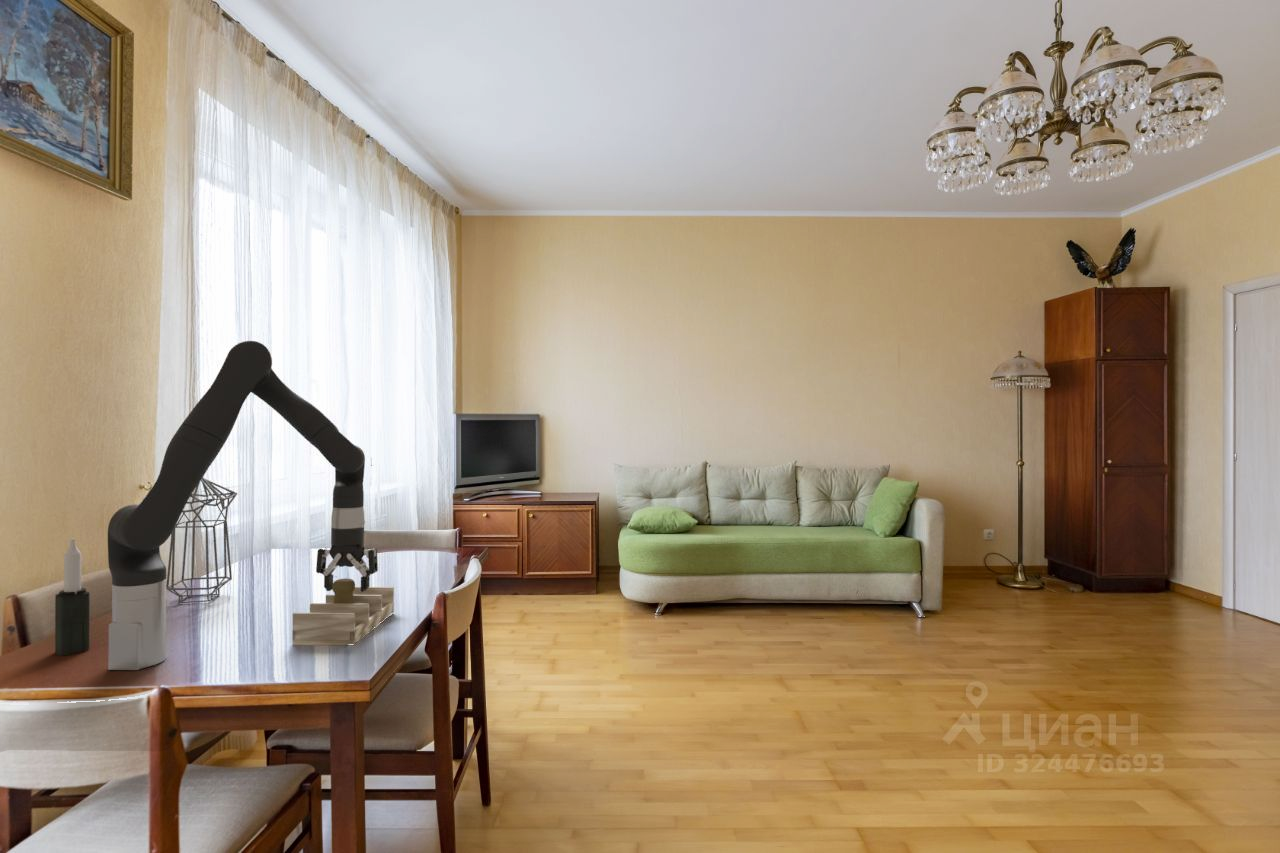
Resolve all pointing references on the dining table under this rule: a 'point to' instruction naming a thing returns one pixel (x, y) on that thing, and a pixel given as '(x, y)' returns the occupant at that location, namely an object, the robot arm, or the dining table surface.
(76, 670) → the dining table surface
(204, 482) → the geometric lantern
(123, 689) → the dining table surface
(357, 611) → the slot rack
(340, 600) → the cork
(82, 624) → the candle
